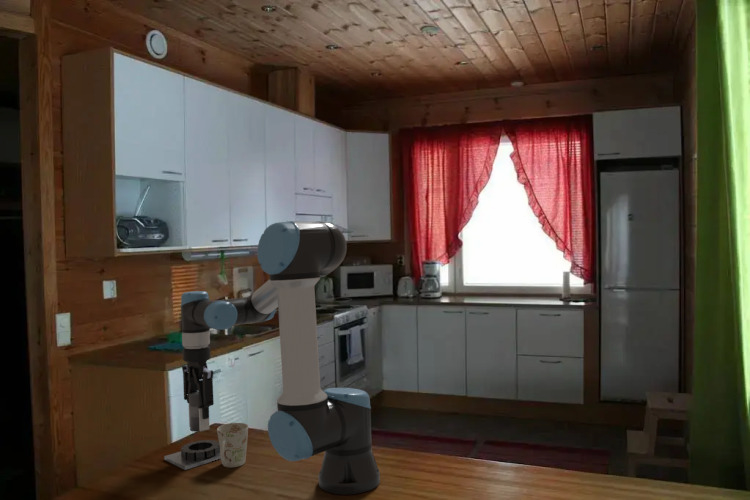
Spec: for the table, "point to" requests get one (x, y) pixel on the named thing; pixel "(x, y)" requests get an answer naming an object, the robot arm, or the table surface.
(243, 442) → the mug
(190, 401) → the lens
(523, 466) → the table surface
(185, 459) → the mount
